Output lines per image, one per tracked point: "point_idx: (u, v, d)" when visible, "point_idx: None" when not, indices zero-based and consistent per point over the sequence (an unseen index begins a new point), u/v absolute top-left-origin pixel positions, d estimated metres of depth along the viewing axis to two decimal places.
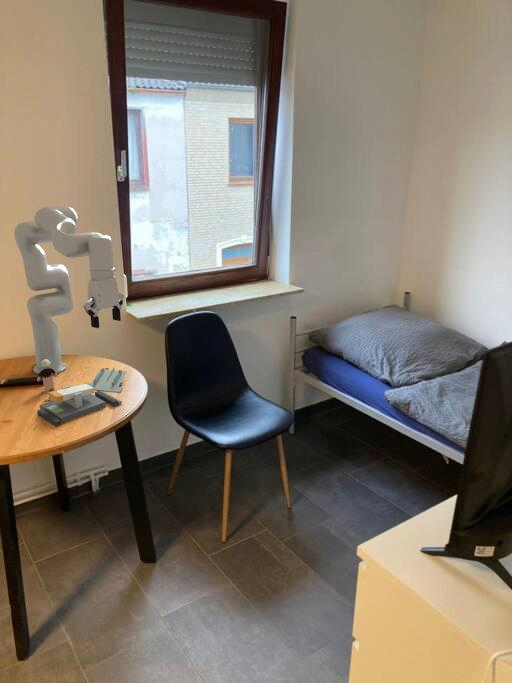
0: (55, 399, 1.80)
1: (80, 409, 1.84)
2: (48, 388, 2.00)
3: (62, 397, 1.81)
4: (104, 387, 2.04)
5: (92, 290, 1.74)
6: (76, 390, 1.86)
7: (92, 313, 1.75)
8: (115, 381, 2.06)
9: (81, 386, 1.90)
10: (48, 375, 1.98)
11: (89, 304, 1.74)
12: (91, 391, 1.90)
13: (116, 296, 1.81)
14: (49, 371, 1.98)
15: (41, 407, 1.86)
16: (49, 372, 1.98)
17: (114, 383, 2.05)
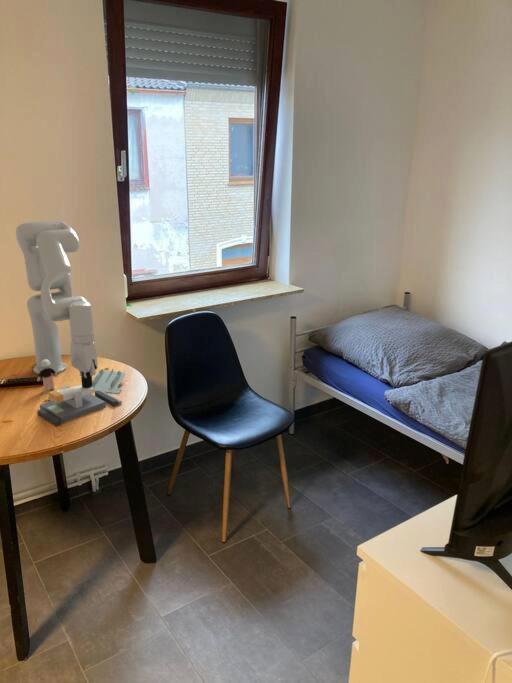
0: (55, 399, 1.80)
1: (80, 409, 1.84)
2: (48, 388, 2.00)
3: (62, 397, 1.81)
4: (103, 388, 2.03)
5: (92, 353, 1.83)
6: (76, 390, 1.86)
7: None
8: (114, 382, 2.04)
9: (81, 386, 1.90)
10: (48, 375, 1.98)
11: None
12: (91, 391, 1.90)
13: None
14: (49, 371, 1.98)
15: (41, 407, 1.86)
16: (49, 372, 1.98)
17: (113, 384, 2.04)
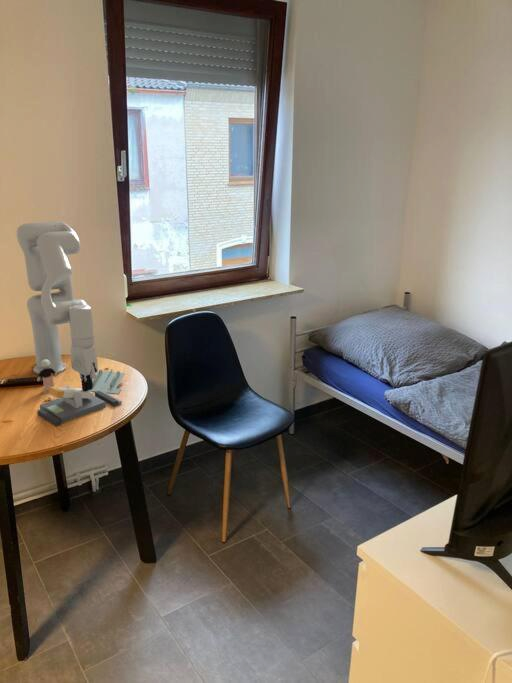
0: (56, 393, 1.80)
1: (80, 409, 1.84)
2: (48, 388, 2.00)
3: (63, 393, 1.81)
4: (102, 389, 2.03)
5: (92, 356, 1.83)
6: (76, 391, 1.87)
7: None
8: (113, 383, 2.04)
9: (81, 389, 1.91)
10: (48, 375, 1.98)
11: None
12: (90, 396, 1.90)
13: None
14: (49, 371, 1.98)
15: (41, 407, 1.86)
16: (49, 372, 1.98)
17: (112, 385, 2.03)
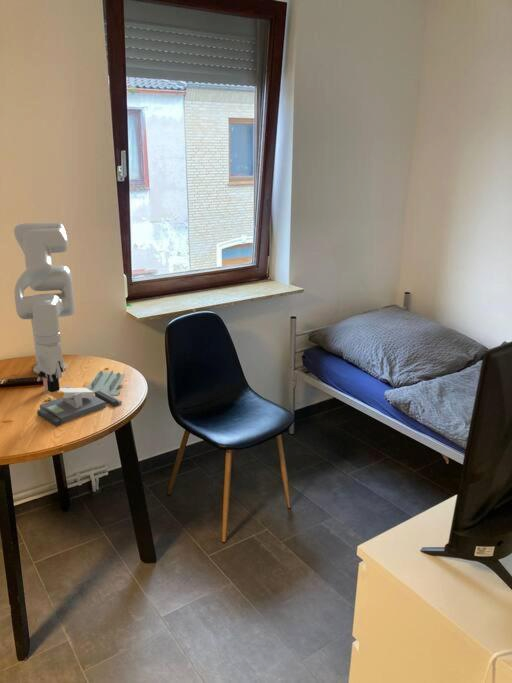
0: (55, 395, 1.80)
1: (80, 409, 1.84)
2: None
3: (62, 394, 1.81)
4: (102, 390, 2.01)
5: (57, 355, 1.73)
6: (76, 391, 1.86)
7: None
8: (113, 384, 2.03)
9: (81, 389, 1.91)
10: None
11: None
12: (91, 395, 1.90)
13: None
14: None
15: (41, 407, 1.86)
16: None
17: (112, 386, 2.02)
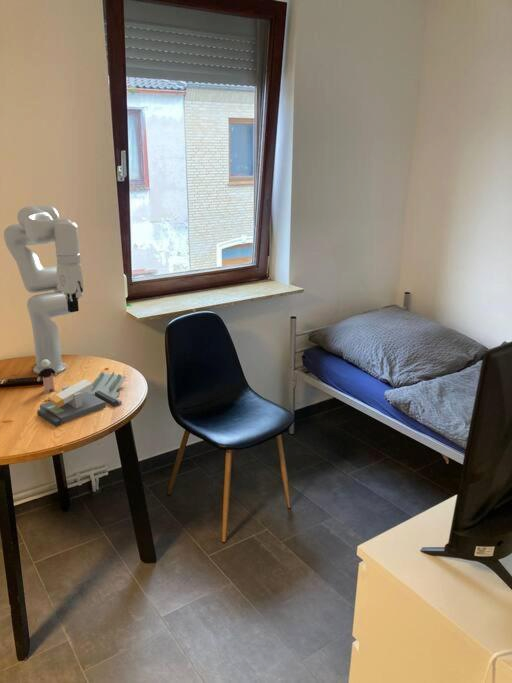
0: (56, 404, 1.81)
1: (80, 409, 1.84)
2: (48, 388, 2.00)
3: (62, 401, 1.82)
4: None
5: (77, 274, 1.81)
6: (75, 390, 1.86)
7: None
8: (113, 386, 2.01)
9: (80, 383, 1.90)
10: (48, 375, 1.98)
11: None
12: (90, 387, 1.89)
13: None
14: (49, 371, 1.98)
15: (41, 407, 1.86)
16: (49, 372, 1.98)
17: (112, 388, 2.00)
